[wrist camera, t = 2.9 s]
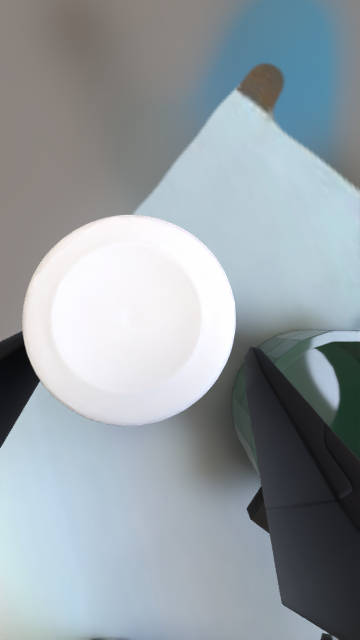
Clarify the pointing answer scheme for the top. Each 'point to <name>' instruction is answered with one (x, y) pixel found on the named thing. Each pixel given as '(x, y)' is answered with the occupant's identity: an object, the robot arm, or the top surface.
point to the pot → (311, 381)
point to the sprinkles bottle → (129, 320)
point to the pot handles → (258, 510)
